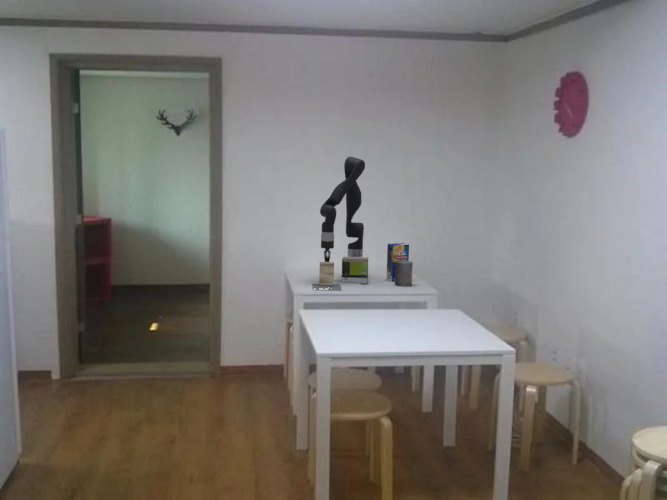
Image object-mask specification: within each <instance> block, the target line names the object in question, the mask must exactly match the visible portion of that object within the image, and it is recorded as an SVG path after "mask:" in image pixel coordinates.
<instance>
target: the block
mask: <svg viewBox="0 0 667 500" xmlns="http://www.w3.org/2000/svg"><path fill="white" fill-rule="evenodd" d="M334 281H335V262H334V261H330V262H325V261H319V282H318V284H319V286H334V284H335V282H334Z"/></svg>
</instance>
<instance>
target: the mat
mask: <svg viewBox="0 0 667 500" xmlns="http://www.w3.org/2000/svg"><path fill="white" fill-rule="evenodd" d="M311 286H312V289H314V288H316V290H315V291H317V292H318V291H319V292H320V291H321V292H323V291H324V292H327V291H329V292H333V291H334V292H335V291H336V292H342V286H341V284H340V283H334V286H319V283H312V284H311ZM328 287H329V289H328V290H319V288H323V289H325V288H328ZM331 288H332V289H331ZM312 289H311V290H312Z"/></svg>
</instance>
